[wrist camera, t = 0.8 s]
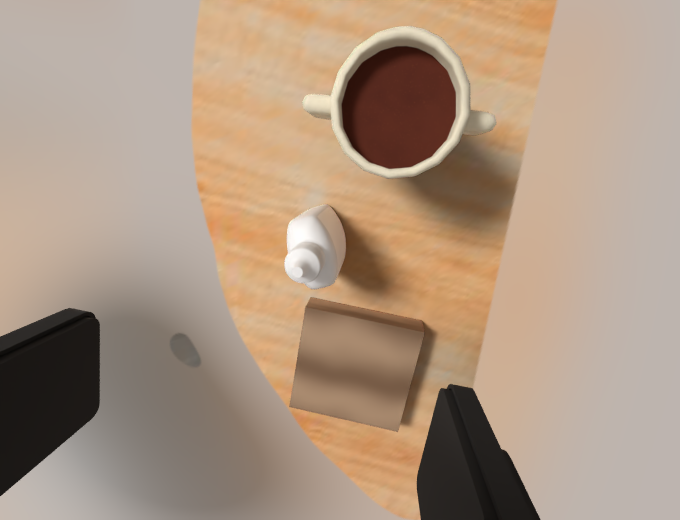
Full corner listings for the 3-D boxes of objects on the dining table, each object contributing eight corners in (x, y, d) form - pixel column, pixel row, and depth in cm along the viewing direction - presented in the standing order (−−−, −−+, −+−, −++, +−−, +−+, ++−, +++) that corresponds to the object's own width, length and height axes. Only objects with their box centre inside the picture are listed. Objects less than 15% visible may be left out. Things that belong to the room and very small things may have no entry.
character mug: (466, 90, 29) (530, 35, 16) (448, 180, 31) (494, 192, 18) (333, 77, 30) (297, 14, 17) (324, 165, 32) (286, 166, 19)
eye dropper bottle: (356, 210, 32) (342, 237, 21) (342, 268, 34) (322, 322, 22) (309, 199, 32) (270, 219, 21) (298, 257, 34) (255, 305, 23)
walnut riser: (310, 297, 35) (305, 307, 33) (421, 320, 34) (424, 332, 32) (295, 391, 38) (289, 406, 36) (396, 414, 37) (397, 431, 35)
